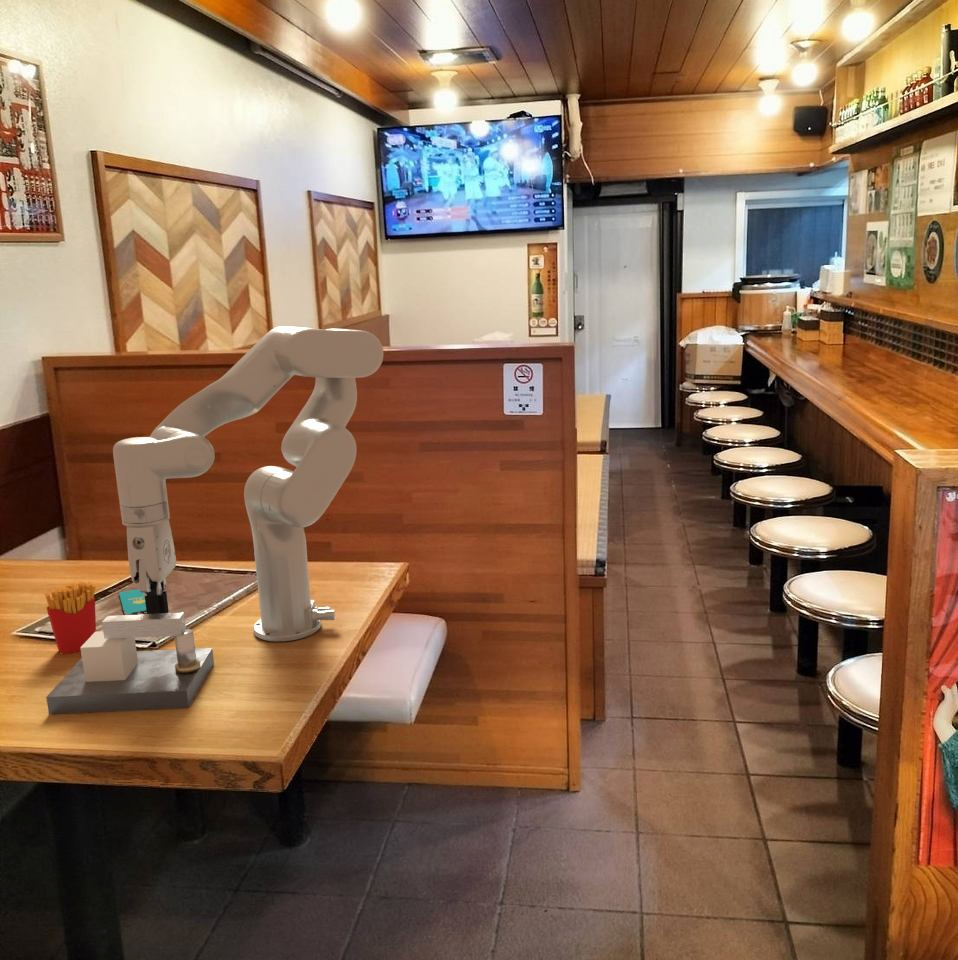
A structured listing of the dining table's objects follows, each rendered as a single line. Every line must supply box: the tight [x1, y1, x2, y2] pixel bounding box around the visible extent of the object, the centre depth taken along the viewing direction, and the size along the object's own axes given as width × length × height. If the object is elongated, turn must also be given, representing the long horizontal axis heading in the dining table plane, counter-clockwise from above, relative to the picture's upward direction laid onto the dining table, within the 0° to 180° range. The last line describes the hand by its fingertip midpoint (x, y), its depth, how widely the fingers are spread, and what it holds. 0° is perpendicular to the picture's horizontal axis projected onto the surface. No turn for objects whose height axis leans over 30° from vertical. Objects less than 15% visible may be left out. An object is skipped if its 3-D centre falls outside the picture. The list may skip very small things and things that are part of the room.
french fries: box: [44, 581, 97, 654], centre depth 168 cm, size 8×4×12 cm, turn 129°
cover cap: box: [80, 630, 138, 682], centre depth 151 cm, size 6×6×6 cm
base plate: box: [45, 647, 215, 715], centre depth 152 cm, size 22×16×3 cm
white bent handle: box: [101, 612, 200, 673], centre depth 151 cm, size 14×4×9 cm, turn 92°
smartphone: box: [118, 588, 147, 614], centre depth 191 cm, size 7×1×15 cm
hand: (158, 614), depth 157 cm, fingers closed
